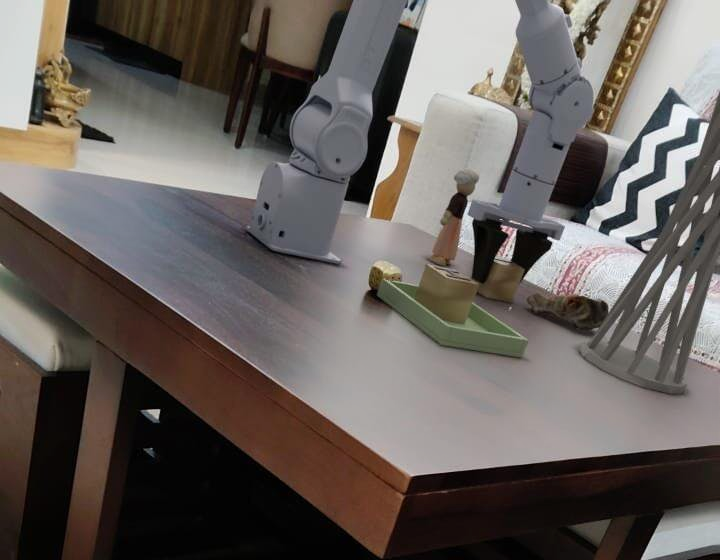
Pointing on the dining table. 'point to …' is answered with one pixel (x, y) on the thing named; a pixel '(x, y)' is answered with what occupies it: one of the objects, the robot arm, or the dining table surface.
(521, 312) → the dining table surface
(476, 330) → the tray
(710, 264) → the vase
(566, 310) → the rock
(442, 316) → the wooden h block
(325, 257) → the robot arm
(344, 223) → the dining table surface
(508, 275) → the wooden i block
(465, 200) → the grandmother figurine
